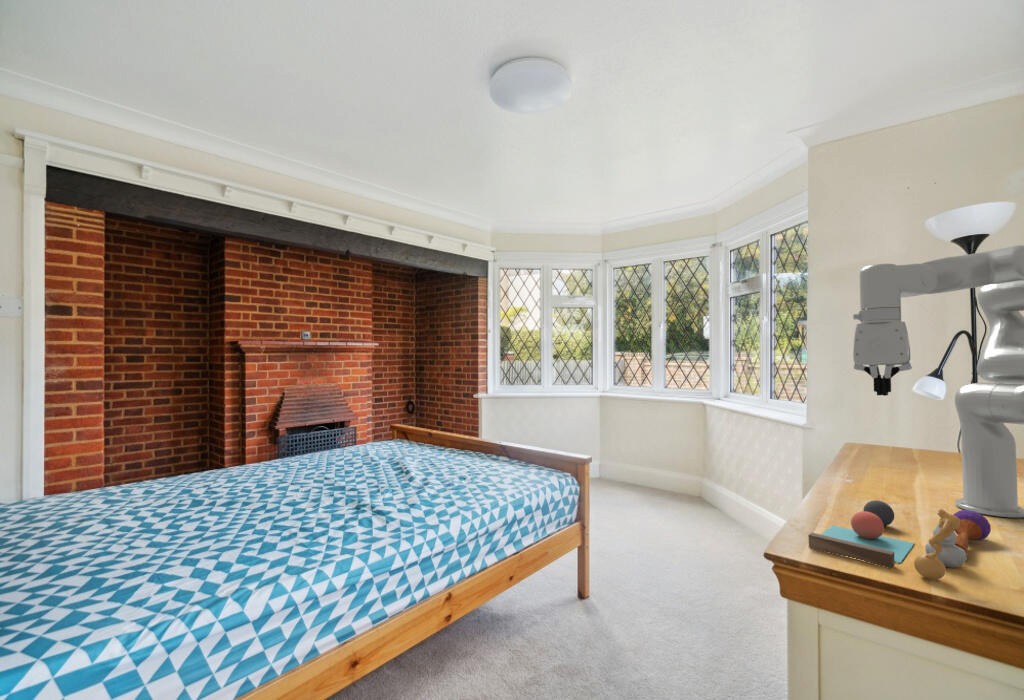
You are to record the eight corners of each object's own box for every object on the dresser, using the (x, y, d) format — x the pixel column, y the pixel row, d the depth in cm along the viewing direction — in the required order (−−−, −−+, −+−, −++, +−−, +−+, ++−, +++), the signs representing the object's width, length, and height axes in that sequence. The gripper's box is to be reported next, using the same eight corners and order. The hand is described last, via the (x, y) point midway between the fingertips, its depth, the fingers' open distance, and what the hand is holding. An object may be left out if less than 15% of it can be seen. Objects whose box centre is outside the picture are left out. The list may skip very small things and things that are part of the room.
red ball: (851, 503, 100) (846, 524, 97) (883, 509, 96) (879, 531, 93) (856, 519, 102) (851, 540, 99) (888, 526, 98) (883, 548, 95)
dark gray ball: (860, 496, 106) (859, 521, 105) (891, 501, 102) (890, 527, 101) (867, 499, 110) (866, 524, 108) (897, 504, 105) (897, 530, 104)
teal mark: (832, 526, 105) (832, 525, 105) (914, 544, 94) (914, 543, 94) (812, 541, 95) (812, 540, 95) (900, 563, 85) (900, 562, 85)
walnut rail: (812, 545, 94) (811, 532, 94) (894, 565, 84) (894, 551, 84) (808, 547, 92) (808, 534, 93) (892, 569, 83) (891, 554, 83)
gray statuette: (922, 564, 85) (921, 519, 85) (930, 555, 89) (928, 512, 89) (963, 574, 81) (962, 527, 81) (969, 564, 85) (968, 519, 85)
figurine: (922, 568, 83) (920, 500, 83) (969, 581, 78) (966, 508, 79) (906, 580, 78) (904, 508, 79) (955, 595, 73) (953, 517, 74)
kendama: (929, 533, 90) (949, 506, 102) (939, 566, 89) (958, 534, 101) (972, 536, 85) (987, 507, 98) (982, 570, 84) (996, 536, 97)
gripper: (838, 318, 113) (840, 394, 113) (919, 313, 102) (921, 397, 102) (847, 320, 118) (848, 393, 118) (925, 315, 107) (927, 396, 107)
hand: (882, 395), depth 110 cm, fingers closed
